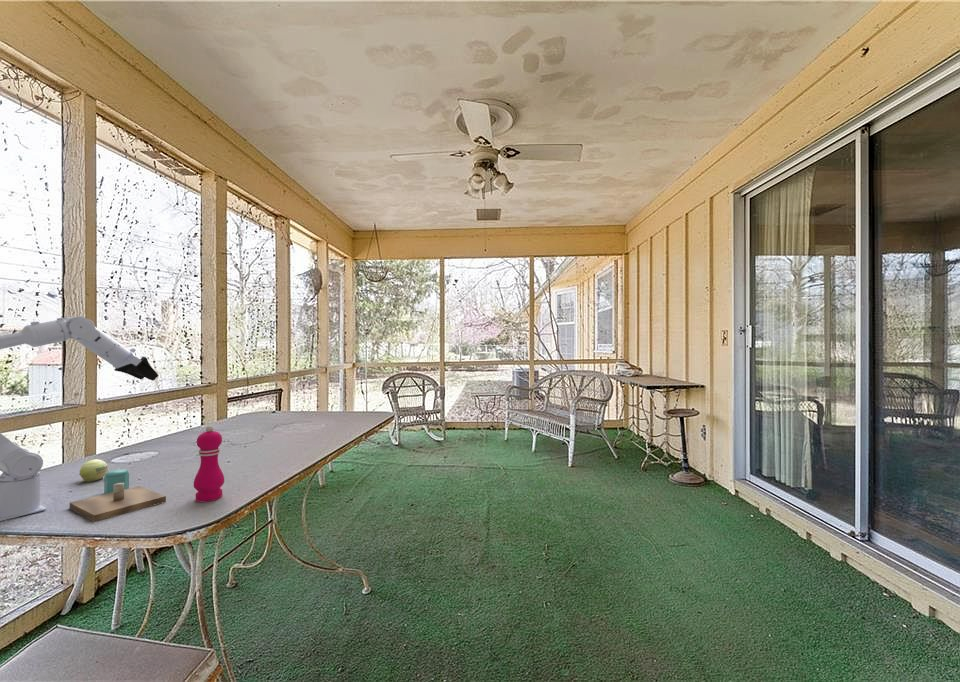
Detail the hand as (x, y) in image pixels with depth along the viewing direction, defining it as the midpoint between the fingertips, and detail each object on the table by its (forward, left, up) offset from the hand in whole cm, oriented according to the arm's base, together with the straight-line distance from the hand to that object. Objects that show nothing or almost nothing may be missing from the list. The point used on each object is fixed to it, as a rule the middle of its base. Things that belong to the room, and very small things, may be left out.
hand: (149, 377), depth 131 cm
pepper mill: (+2, -30, -32) cm, 44 cm away
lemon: (-8, +18, -33) cm, 38 cm away
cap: (-9, -2, -32) cm, 33 cm away
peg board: (-13, -15, -32) cm, 38 cm away
